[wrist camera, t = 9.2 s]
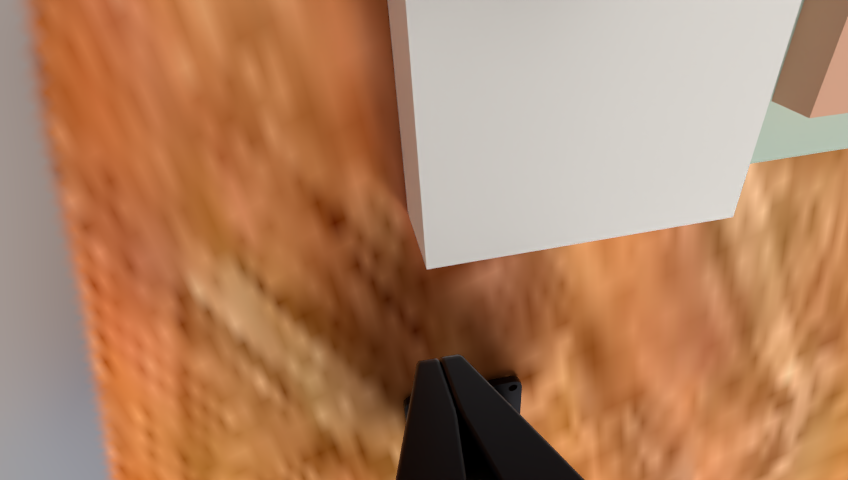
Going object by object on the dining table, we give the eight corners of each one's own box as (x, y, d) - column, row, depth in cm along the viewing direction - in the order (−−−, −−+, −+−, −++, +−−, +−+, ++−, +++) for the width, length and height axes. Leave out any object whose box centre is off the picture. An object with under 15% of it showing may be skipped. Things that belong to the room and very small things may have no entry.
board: (672, 171, 23) (733, 217, 20) (407, 212, 22) (426, 269, 19) (780, -303, 15) (914, -356, 12) (359, -287, 13) (378, -342, 10)
